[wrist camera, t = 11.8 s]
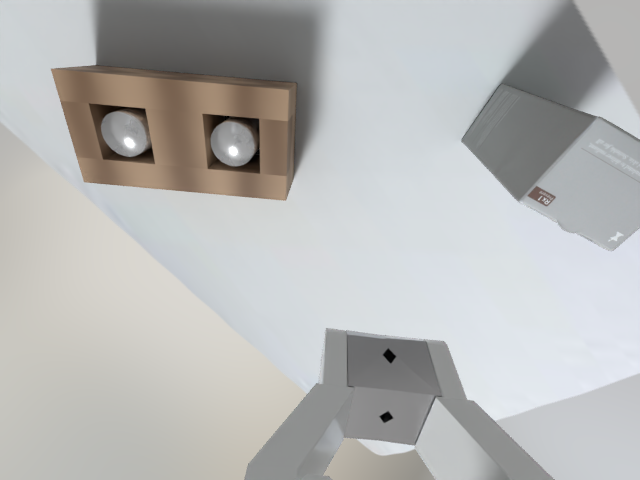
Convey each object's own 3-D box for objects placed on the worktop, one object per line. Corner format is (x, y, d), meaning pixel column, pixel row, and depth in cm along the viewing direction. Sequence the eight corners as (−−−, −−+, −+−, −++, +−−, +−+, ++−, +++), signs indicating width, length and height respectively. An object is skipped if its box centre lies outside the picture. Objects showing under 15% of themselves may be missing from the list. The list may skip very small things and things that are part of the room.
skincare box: (565, 119, 34) (721, 170, 20) (515, 180, 37) (618, 260, 23) (497, 78, 32) (614, 102, 18) (451, 145, 35) (520, 208, 22)
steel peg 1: (137, 140, 36) (107, 154, 32) (129, 100, 34) (96, 109, 30) (174, 143, 36) (149, 158, 32) (168, 104, 34) (140, 113, 30)
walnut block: (118, 163, 38) (84, 182, 33) (96, 65, 33) (50, 68, 28) (293, 179, 38) (285, 200, 33) (296, 83, 33) (288, 89, 28)
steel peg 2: (229, 148, 36) (212, 164, 32) (226, 109, 34) (208, 119, 30) (266, 152, 36) (254, 168, 32) (265, 113, 34) (253, 124, 29)
